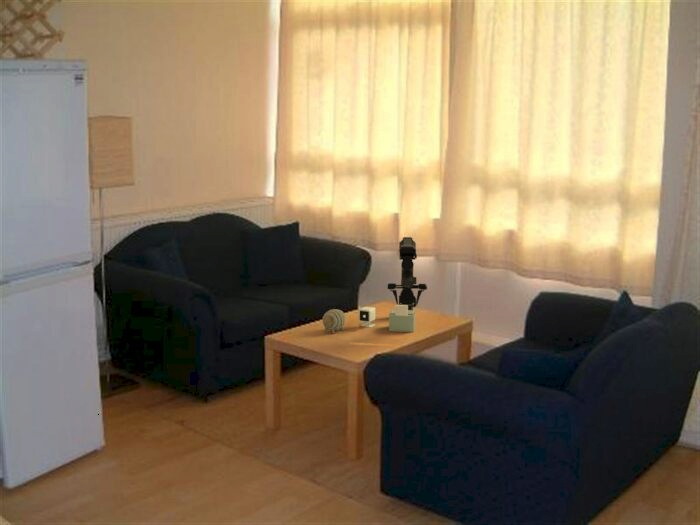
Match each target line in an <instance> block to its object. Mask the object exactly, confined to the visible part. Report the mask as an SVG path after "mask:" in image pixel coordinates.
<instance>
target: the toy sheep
mask: <svg viewBox="0 0 700 525" xmlns="http://www.w3.org/2000/svg"><path fill="white" fill-rule="evenodd" d="M345 323H346V315H345V313H344V311H342V310H341V309H336V308H335V309H334V308H333V309H329V310H327V311H326V312H325V313H324V314H323V316H322V324H323V326H324V333H325V332H327V333H328V330H329V331H331V334H332V335H335V332H337V331H339V330H340V331H343V327H344V326H345Z"/></svg>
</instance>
